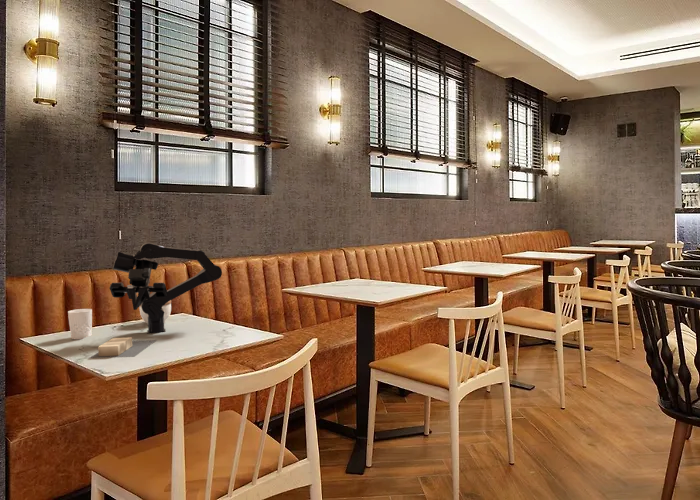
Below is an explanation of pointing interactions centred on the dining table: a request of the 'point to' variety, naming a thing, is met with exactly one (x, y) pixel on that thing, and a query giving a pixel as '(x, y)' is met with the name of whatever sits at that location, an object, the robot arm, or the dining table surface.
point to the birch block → (115, 346)
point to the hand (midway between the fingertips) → (134, 309)
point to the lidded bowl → (165, 308)
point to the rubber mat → (130, 349)
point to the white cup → (80, 323)
